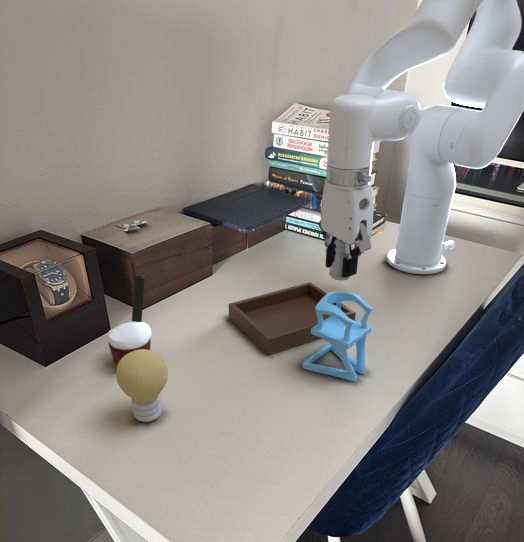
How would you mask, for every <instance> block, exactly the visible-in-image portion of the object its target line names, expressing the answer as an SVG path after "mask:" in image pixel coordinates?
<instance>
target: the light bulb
mask: <svg viewBox="0 0 524 542" xmlns="http://www.w3.org/2000/svg"><path fill="white" fill-rule="evenodd" d="M115 375H116V376H115V377H116V381H117V384H118V387H119V389H121V391H122V392H123V393H124V394H125V395H126V396H128V397H129V398H130V399H131V407H132V412H133V416H134V418H135V419H136V420H137V421H140V422H145V423H147V422H153V421H155V420H157V419H158V418H159V417H160V416H161V414H162V412H163V409H162V401H161V395H160V393H162V391H163V390H164V388H165V387H166V385H167V381H168V379H169V370H168V366H167V363H166V362H165V360H164V359H163V357H162V356H161V355H160V354H158V353H157V352H155V351H153V350H151V349H150V350H146V349H139V350H135V351H132V352H130V353H128V354H127V355H125V356H124V357H123V358H122V359H121V360H120V361H119V363H118V365H117V366H116V372H115Z"/></svg>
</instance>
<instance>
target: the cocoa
mask: <svg viewBox="0 0 524 542" xmlns="http://www.w3.org/2000/svg"><path fill="white" fill-rule="evenodd" d="M144 289H145V277H144V276H141V275H134V279H133V295H132V296H133V297H132V313H131V321H127V322H124V323H121V324H119V325H118V326H115V327H113V328H111V329H110V330H108V333H107V335H106V339H107V341H108V347H109V350H110V353H111V357H112V360H113V363H114V364H115V365H117V366H118V363H119V361H120V360H121V359H122V358H123V357H124V356H125V355H127V354H128V353H130V352H132V351H135V350H139V349H146V350H150V351H151V343H152V342H151V341H152V340H151V337H152V336H153V334H152V329H151V327H150V325H149V324H147V323H146V322H145V321H143V307H144V306H143V305H144V291H145V290H144Z"/></svg>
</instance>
